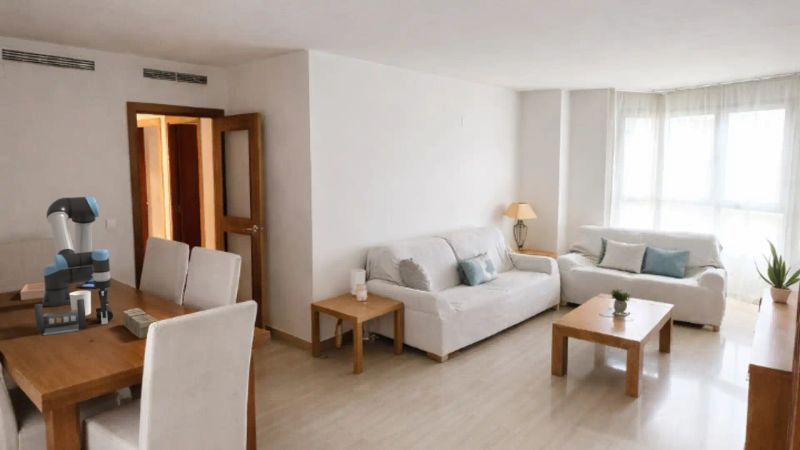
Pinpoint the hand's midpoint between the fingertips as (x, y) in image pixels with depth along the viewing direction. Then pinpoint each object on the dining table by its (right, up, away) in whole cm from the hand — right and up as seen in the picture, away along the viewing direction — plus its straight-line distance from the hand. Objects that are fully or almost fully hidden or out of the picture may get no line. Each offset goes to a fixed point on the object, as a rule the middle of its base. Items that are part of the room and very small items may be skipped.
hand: (105, 320), depth 261 cm
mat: (-12, -2, -15) cm, 19 cm away
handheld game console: (-51, +8, +75) cm, 91 cm away
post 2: (-5, -2, -11) cm, 12 cm away
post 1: (-20, -3, -19) cm, 27 cm away
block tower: (+26, -2, -15) cm, 30 cm away
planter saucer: (-70, +6, +54) cm, 89 cm away
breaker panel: (-17, -1, -6) cm, 18 cm away
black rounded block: (0, -1, 0) cm, 1 cm away
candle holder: (-19, +1, +11) cm, 22 cm away
